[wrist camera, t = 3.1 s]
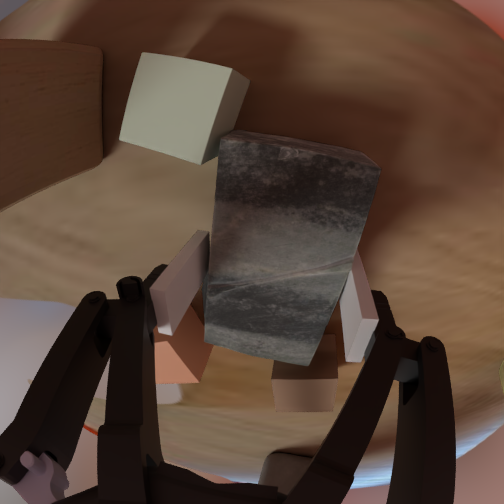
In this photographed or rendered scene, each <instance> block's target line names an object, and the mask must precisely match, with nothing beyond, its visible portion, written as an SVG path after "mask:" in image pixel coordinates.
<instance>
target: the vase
mask: <svg viewBox="0 0 504 504" xmlns="http://www.w3.org/2000/svg"><path fill="white" fill-rule="evenodd" d="M311 460H312V458H308V457H302V456H296V455H292V454H286V453H274V454H270V455H268V456H267V458H266V459H265V462H264V464H263V468H262V471H261V475H260V479H259V482H258V484H260V485H268V486H277V487H278V492H281V493H283V494H286V495H287V494H288V492H289V491H290V490H291V489H292V487H293V486H294V485H295V483H296V482H297V480H298V479H299V478H300V476H301V475H302V473H303V472H304V471H305V469H306V468H307V466H308V465H309V463H310V462H311Z"/></svg>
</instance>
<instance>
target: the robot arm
mask: <svg viewBox="0 0 504 504" xmlns="http://www.w3.org/2000/svg"><path fill="white" fill-rule="evenodd" d="M209 259H210V241H209V231H201V230H198V231H197V232H196V233H195V234H194V235H193V236H192V238H191V239H190V240H189V241H188V242H187V244H186V245H185V246H184V247H183V248H182V249H181V251H180V252H179V253H178V254H177V255H176V257H175V258H174V259H173V260H172V261H171V263H170V264H169V265H165V264H161V265H159V266H158V267H156V268H154V270H153V271H152V272H151V273H150V274H149V275H148V276H147V278H146V279H145V280H144V281H143V282H142V279H141V278H140V277H137V276H128V277H124V278H122V279H120V280H119V281H118V282H117V284H116V286H117V290H118V294H119V298H120V299H107V298H106V295H105V293H103V292H101V291H94V292H90V293H89V294H87V295H86V296H85V297H84V298H83V299H82V301H81V302H80V303H79V305H78V306H77V308H76V309H75V311H74V312H73V314H72V316H71V317H70V319H69V320H68V322H67V323H66V325H65V326H64V328H63V330H62V331H61V333H60V334H59V336H58V338H57V339H56V341H55V343H54V344H53V346H52V348H51V349H50V351H49V353H48V354H47V356H46V358H45V360H44V361H43V363H42V365H41V367H40V369H39V370H38V372H37V374H36V376H35V378H34V380H33V382H32V384H31V385H30V388H29V389H28V391H27V394H26V395H25V397H24V399H23V402H22V404H21V406H20V408H19V410H18V413H17V414H16V417H15V419H14V421H13V422H12V423H11V424H10V425H9V426H8V427H7V428H6V430H5V431H4V432H3V433H2V434H1V435H0V479H1V480H3V481H4V482H6V483H8V484H9V485H11V486H13V487H14V489H15V490H16V491H17V492H18V493H19V494H20V495H21V497H22V498H23V499H24V500H25V501H26V502H27V503H28V504H341V503H342V501H343V499H344V498H345V496H346V494H347V492H348V491H349V489H350V487H351V485H352V483H353V480H354V473H355V471H356V469H357V467H358V465H359V463H360V461H361V459H362V457H363V455H364V452H365V450H366V448H367V446H368V444H369V442H370V440H371V437H372V435H373V433H374V430H375V428H376V426H377V423H378V421H379V418H380V416H381V413H382V411H383V408H384V406H385V403H386V400H387V397H388V395H389V392H390V389H391V386H392V383H393V380H397V381H399V405H398V423H397V435H396V446H395V454H394V462H393V469H392V476H391V482H390V488H389V493H388V498H387V503H386V504H453V502H454V491H455V473H456V438H455V420H454V408H453V398H452V389H451V382H450V375H449V369H448V363H447V357H446V352H445V347H444V345H443V343H442V342H441V341H440V340H439V339H437V338H435V337H432V336H426V337H424V338H423V339H422V340H421V342H416V341H413V340H410V339H408V338H406V336H405V333H404V331H403V330H402V329H401V328H399V327H397V326H396V324H395V321H394V318H393V315H392V312H391V310H390V306H389V303H388V300H387V297H386V296H385V295H384V294H383V293H382V292H381V291H376V290H370V286H369V283H368V280H367V277H366V273H365V270H364V267H363V264H362V261H361V258H360V255H359V252H358V249H356V252H355V255H354V261H353V265H352V269H351V271H350V272H349V273H348V276H347V279H346V281H345V284H344V286H343V289H342V291H341V294H340V296H339V301H340V309H341V318H342V327H343V337H344V347H345V358H346V362H361V361H362V358H363V356H365V363H364V365H363V367H362V369H361V371H360V373H359V375H358V378H357V380H356V382H355V384H354V386H353V388H352V390H351V392H350V394H349V396H348V398H347V400H346V402H345V404H344V406H343V408H342V410H341V411H340V413H339V415H338V417H337V419H336V420H335V422H334V424H333V426H332V428H331V429H330V431H329V433H328V434H327V436H326V438H325V439H324V441H323V443H322V444H321V446H320V448H319V449H318V451H317V452H316V454H315V455H314V457H313V459H312V460H311V462H310V463H309V465H308V466H307V468H306V469H305V471H304V472H303V473H302V475H301V476H300V478H299V479H298V480H297V482H296V483H295V485H294V486H293V487H292V489H291V490H290V491H289V492H288V494H287V495H286V494H283V493H281V492H278V487H277V486H268V485H260V484H253V483H231V484H217V483H213V482H211V481H209V480H207V479H205V478H203V477H201V476H199V475H197V474H195V473H193V472H191V471H190V470H187V469H184V468H181V467H177V466H174V465H171V464H167V463H165V462H164V459H163V456H162V452H161V445H160V436H159V425H158V413H157V399H156V379H155V336H154V332H153V330H154V328H155V327H156V325H157V327H158V331H159V333H163V334H167V335H171V336H172V335H173V334H174V332H175V330H176V328H177V326H178V325H179V323H180V321H181V319H182V318H183V316H184V314H185V312H186V310H187V309H188V307H189V305H190V303H191V302H192V300H193V298H194V296H195V295H196V293H197V291H198V289H199V288H200V286H201V284H202V282H203V281H204V279H205V277H206V275H207V274H208V272H209ZM110 355H111V356H110ZM109 358H110V364H109V373H108V385H107V396H106V410H105V423H104V425H101V426H100V427H99V429H98V444H97V474H98V485H97V486H95V487H92V488H90V489H87V490H85V491H83V492H80V493H77V494H75V495H72V496H69V497H67V498H65V496H64V490H66V489H68V487H69V481H68V480H67V476H66V473H65V472H66V470H67V468H68V466H69V464H70V462H71V461H72V458H73V455H74V452H75V449H76V446H77V443H78V440H79V437H80V434H81V431H82V428H83V425H84V422H85V419H86V417H87V414H88V411H89V408H90V405H91V403H92V400H93V397H94V395H95V392H96V389H97V387H98V384H99V382H100V379H101V377H102V374H103V372H104V369H105V367H106V365H107V362H108V360H109Z"/></svg>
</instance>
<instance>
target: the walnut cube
mask: <svg viewBox="0 0 504 504" xmlns="http://www.w3.org/2000/svg"><path fill="white" fill-rule="evenodd" d="M271 381H272V388H273V395H274V402H275V409H276V411H277V412H328V411H333V408H334V402H335V396H336V390H337V383H338V367H337V352H336V339H335V334H326V335H323V336H322V338H321V341H320V343H319V345H318V347H317V349H316V351H315V354H314V356H313V358H312V360H311V362H310V364H309V365H308V366H303V365H297V364H292V363H287V362H282V361H277V360H274V365H273V371H272V378H271Z"/></svg>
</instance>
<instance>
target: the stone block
mask: <svg viewBox="0 0 504 504" xmlns="http://www.w3.org/2000/svg"><path fill="white" fill-rule="evenodd" d="M380 172H381V168H380V167H379V166H378V165H377V164H376V163H375V162H374V161H372V160H371V159H370V158H369V157H368V156H366V155H365V154H364V153H362V152H361V151H355V150H351V149H348V148H343V147H338V146H333V145H328V144H323V143H318V142H313V141H307V140H301V139H295V138H290V137H285V136H278V135H269V134H262V133H254V132H248V131H246V130H231V131H230V133H229V134H227V135H226V136H224V137H222V138H221V141H220V148H219V157H218V168H217V180H216V192H215V206H214V215H213V225H212V236H211V247H210V259H209V272H208V274H207V275H206V277H205V279H204V281H203V286H202V294H203V307H204V318H205V334H204V342H206V343H209V344H213V345H216V346H220V347H224V348H228V349H231V350H234V351H237V352H240V353H244V354H247V355H251V356H256V357H261V358H266V359H273V360H277V361H282V362H287V363H292V364H297V365H303V366H308V365H309V364H310V362H311V360H312V358H313V356H314V354H315V351H316V349H317V347H318V345H319V343H320V341H321V338H322V336H323V334H324V331H325V328H326V326H327V325H328V322H329V320H330V317H331V315H332V313H333V311H334V308H335V306H336V304H337V301H338V299H339V296H340V294H341V291H342V289H343V286H344V284H345V281H346V279H347V276H348V273H349V272H350V271H351V269H352V265H353V261H354V255H355V252H356V249H357V247H358V244H359V241H360V238H361V235H362V232H363V229H364V226H365V223H366V220H367V216H368V213H369V210H370V207H371V204H372V201H373V197H374V194H375V191H376V187H377V183H378V180H379V176H380Z"/></svg>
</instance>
